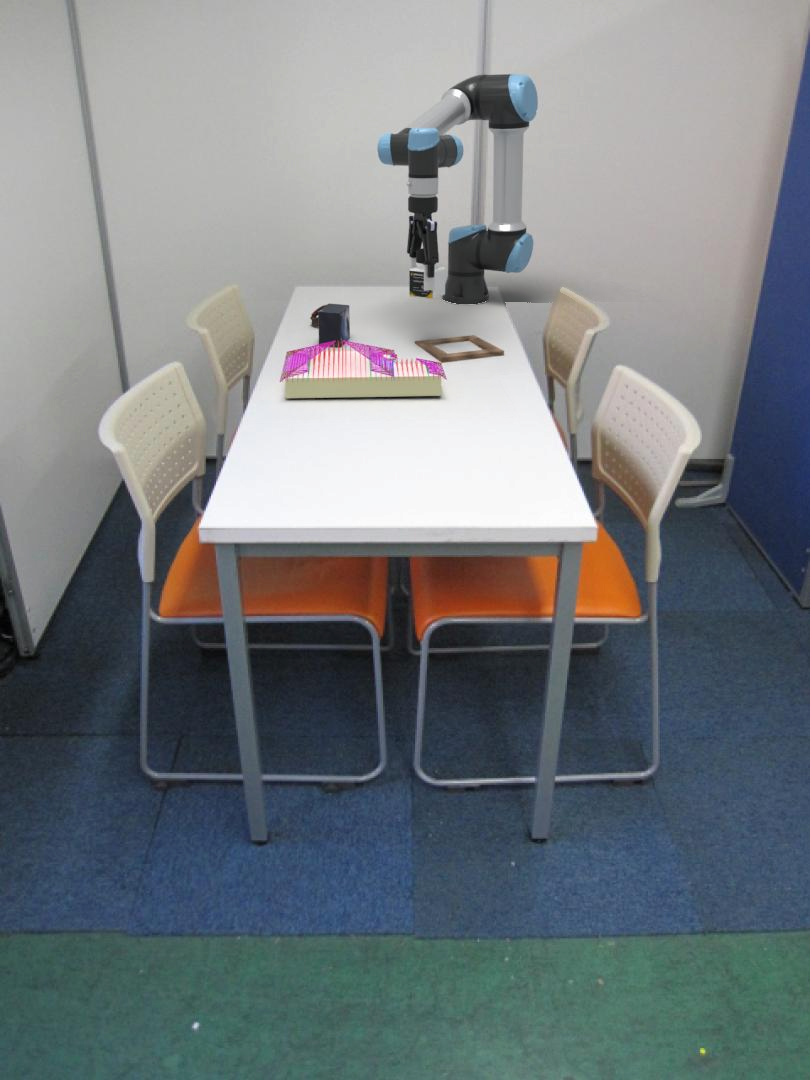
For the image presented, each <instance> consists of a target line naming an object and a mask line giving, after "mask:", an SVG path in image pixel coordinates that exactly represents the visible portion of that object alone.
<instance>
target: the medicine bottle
mask: <svg viewBox="0 0 810 1080" xmlns="http://www.w3.org/2000/svg"><path fill="white" fill-rule="evenodd" d="M438 254H439V255H440V250H438ZM424 262H425V255H424V249H423V247H421V249H419V250H417V251H416V265H417V267H416V268H412V269H409V271H408V272H409V277H408V278H409V283H408V284H409V285H408V286H409V297H411V298H418V299H425V300H434V299H436V298H439V297H442V296H443V295H445V283H446V267H443V266H440V261H439V262H438V263H436V264H435V290H427V291H424V265H423V263H424Z"/></svg>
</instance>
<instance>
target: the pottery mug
mask: <svg viewBox="0 0 810 1080" xmlns="http://www.w3.org/2000/svg"><path fill="white" fill-rule="evenodd" d="M326 305H327V304H324V305H322V306H320V307H318V308H317V309H315V310H314V311H313V312H312V313H311V316H310V317H309V319H310V320H311V327H313V328H318V311H319V310H321V309H322V308H323V307H325V306H326Z"/></svg>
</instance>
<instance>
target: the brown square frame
mask: <svg viewBox="0 0 810 1080" xmlns="http://www.w3.org/2000/svg"><path fill="white" fill-rule="evenodd" d="M463 342H470V343H471V344H473V345H475V346H477V347H478V348H480V349H477V350H471V351H470V350H469V351H462V352H461V351H460V352H451V353H447V352H445V351H444V350H442V349H440V348H439V347H437V346H436V345H443V344H452V343H463ZM414 345H416V346H417V347H419V348H421V349H422V350H424V352H426V353H427V354H429V355H430V356H432V357H433V358H435V359H436V360H437V361H438V362H440V363H452V362H458V361H459V362H460V361H469V360H475V359H484V358H485V359H486V358H492V357H500V356H501V357H502V356H504V355H505V350H504V349H501V348H499V347H497V346H495V345H493V344H492V343H490V342H488V341H486V340H484V339H482V338H481V337H478V336H477V335H473V334H472V335H463V336H462V335H461V336H451V337H444V338H443V337H442V338H434V339H433V338H432V339H424V340H423V339H422V340H414Z"/></svg>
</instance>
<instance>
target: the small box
mask: <svg viewBox="0 0 810 1080" xmlns="http://www.w3.org/2000/svg"><path fill="white" fill-rule="evenodd" d="M325 305H326V306H325V307H323V308H322V309H321V310H319V311H318V316H317V317H318V327H317V328H318V344H323V343H327V342H332V341H336V342H334V347H335V349H338V342H339V349H340V348H341V349H342V342H343V341H348V342H349V340H350V338H351V332H350V331H351V326H350V324H351V323H350V320H351V318H350V316H351V315H350V304H339V303H327V304H325ZM332 343H333V342H332ZM330 344H331V343H330ZM344 345H345V342H343V346H344ZM323 346H324V344H323ZM321 347H322V345H321ZM326 347H327V345H326ZM324 348H325V346H324ZM327 348H328V347H327ZM330 348H333V344H332V345H330Z"/></svg>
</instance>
